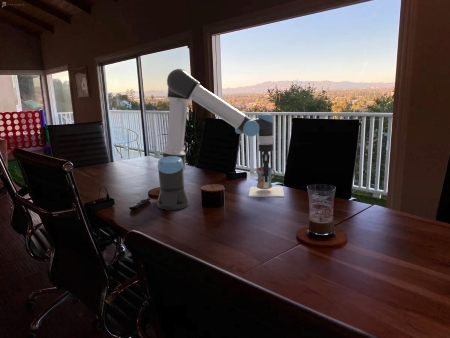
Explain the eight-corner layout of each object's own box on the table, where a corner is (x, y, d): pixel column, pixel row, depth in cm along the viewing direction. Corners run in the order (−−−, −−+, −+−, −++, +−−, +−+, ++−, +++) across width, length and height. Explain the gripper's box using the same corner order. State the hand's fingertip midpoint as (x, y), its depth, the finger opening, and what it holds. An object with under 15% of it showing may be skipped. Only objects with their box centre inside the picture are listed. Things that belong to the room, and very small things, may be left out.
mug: (262, 191, 166) (262, 171, 164) (252, 187, 174) (251, 168, 172) (280, 187, 172) (280, 168, 170) (269, 183, 180) (269, 165, 178)
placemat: (284, 196, 163) (284, 195, 163) (248, 196, 165) (248, 195, 165) (282, 187, 180) (282, 186, 180) (250, 187, 183) (250, 186, 183)
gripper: (273, 146, 157) (273, 191, 161) (272, 140, 177) (272, 180, 182) (258, 146, 158) (258, 191, 162) (258, 141, 178) (259, 180, 183)
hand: (266, 185), depth 172 cm, fingers closed on mug, 8 cm apart
